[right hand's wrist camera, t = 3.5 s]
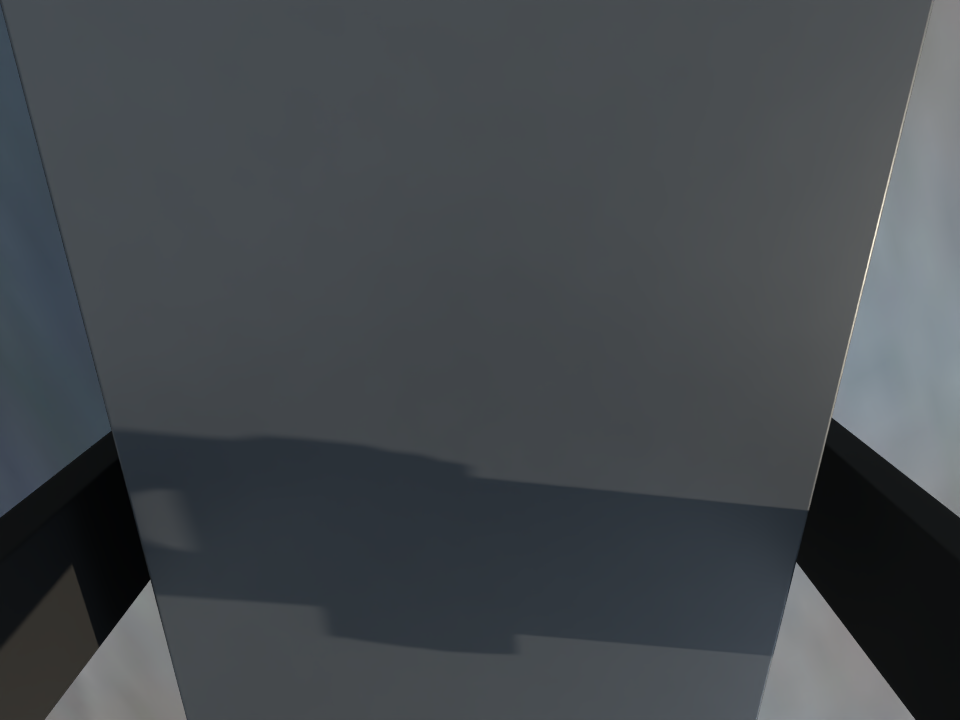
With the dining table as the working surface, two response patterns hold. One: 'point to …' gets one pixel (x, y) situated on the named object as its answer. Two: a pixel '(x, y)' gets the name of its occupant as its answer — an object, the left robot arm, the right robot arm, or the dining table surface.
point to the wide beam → (469, 330)
